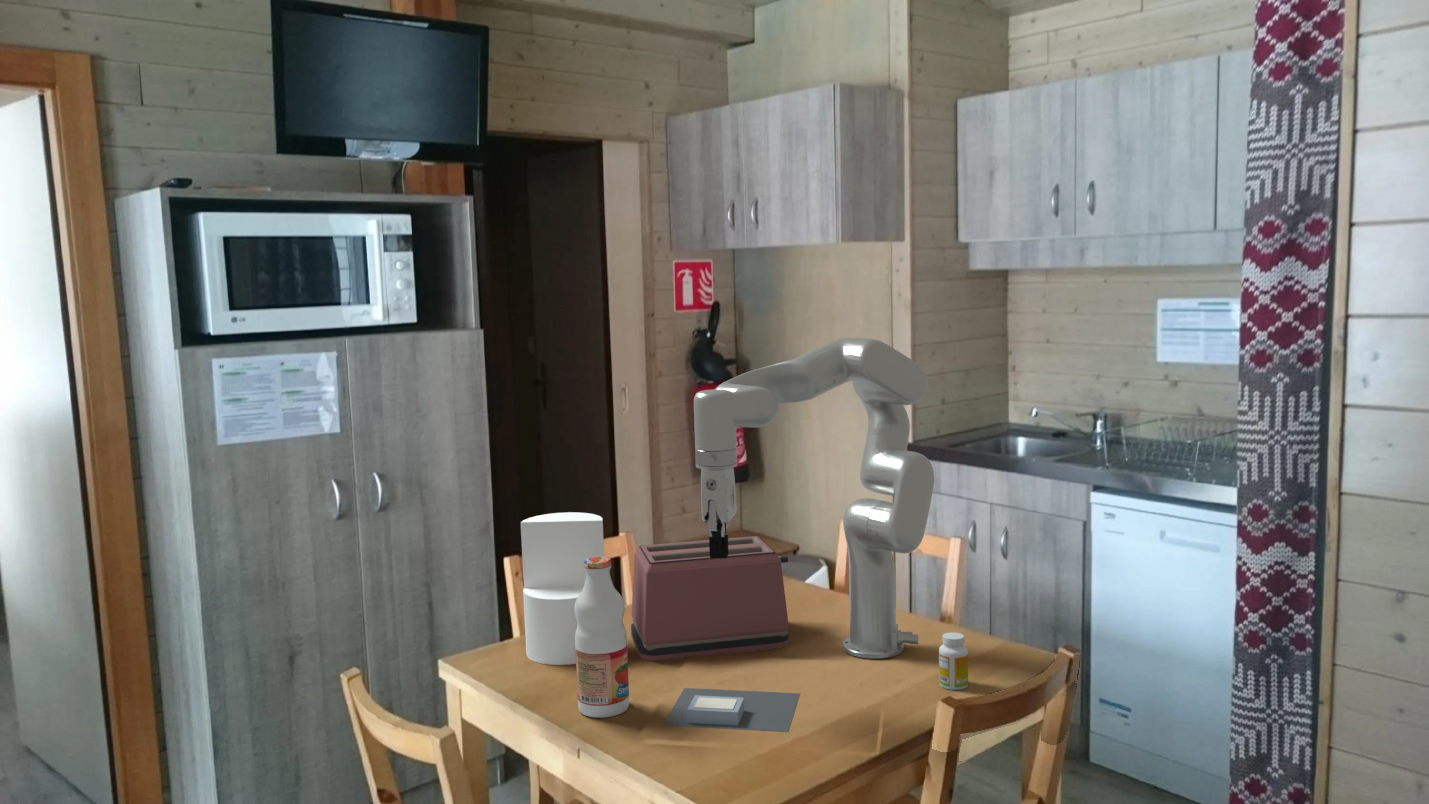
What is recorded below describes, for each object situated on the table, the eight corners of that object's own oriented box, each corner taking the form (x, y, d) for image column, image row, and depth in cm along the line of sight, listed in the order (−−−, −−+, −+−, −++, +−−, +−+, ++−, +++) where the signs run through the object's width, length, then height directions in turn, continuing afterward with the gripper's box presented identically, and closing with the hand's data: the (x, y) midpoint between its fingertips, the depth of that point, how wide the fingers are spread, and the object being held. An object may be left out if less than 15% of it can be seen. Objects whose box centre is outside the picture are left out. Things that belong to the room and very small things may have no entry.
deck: (743, 696, 193) (737, 711, 186) (744, 710, 193) (738, 725, 187) (694, 694, 194) (686, 708, 188) (695, 707, 195) (687, 722, 188)
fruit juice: (575, 701, 201) (568, 555, 198) (625, 695, 203) (619, 551, 200) (580, 721, 192) (573, 568, 189) (633, 715, 194) (627, 563, 191)
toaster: (801, 646, 228) (799, 552, 225) (642, 663, 220) (638, 566, 218) (777, 619, 246) (775, 531, 244) (629, 634, 239) (625, 544, 237)
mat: (800, 697, 200) (800, 693, 200) (788, 736, 184) (788, 731, 184) (684, 691, 205) (684, 687, 204) (662, 729, 188) (662, 724, 188)
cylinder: (535, 637, 238) (528, 513, 235) (613, 635, 238) (607, 511, 234) (518, 665, 221) (511, 532, 218) (602, 664, 221) (596, 530, 217)
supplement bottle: (969, 681, 205) (969, 632, 204) (966, 691, 200) (966, 641, 199) (941, 678, 207) (940, 629, 206) (937, 689, 202) (937, 639, 201)
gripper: (729, 465, 187) (732, 568, 189) (743, 451, 202) (746, 547, 204) (686, 465, 189) (690, 567, 191) (704, 451, 203) (707, 546, 205)
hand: (719, 556), depth 197 cm, fingers closed
